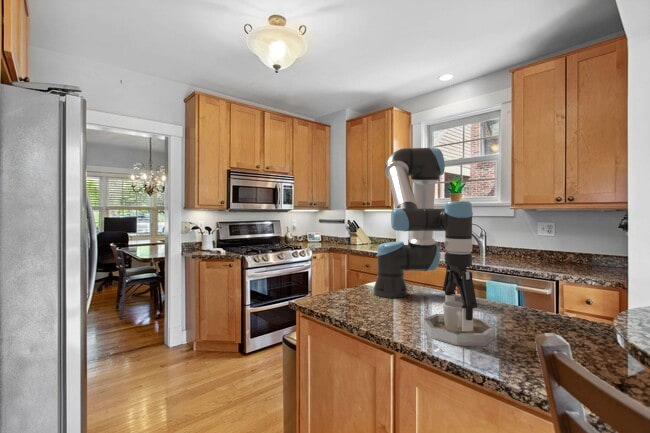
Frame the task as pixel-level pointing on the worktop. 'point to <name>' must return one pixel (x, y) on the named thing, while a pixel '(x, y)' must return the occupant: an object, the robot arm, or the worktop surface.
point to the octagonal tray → (477, 337)
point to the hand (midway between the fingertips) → (458, 322)
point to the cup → (453, 316)
